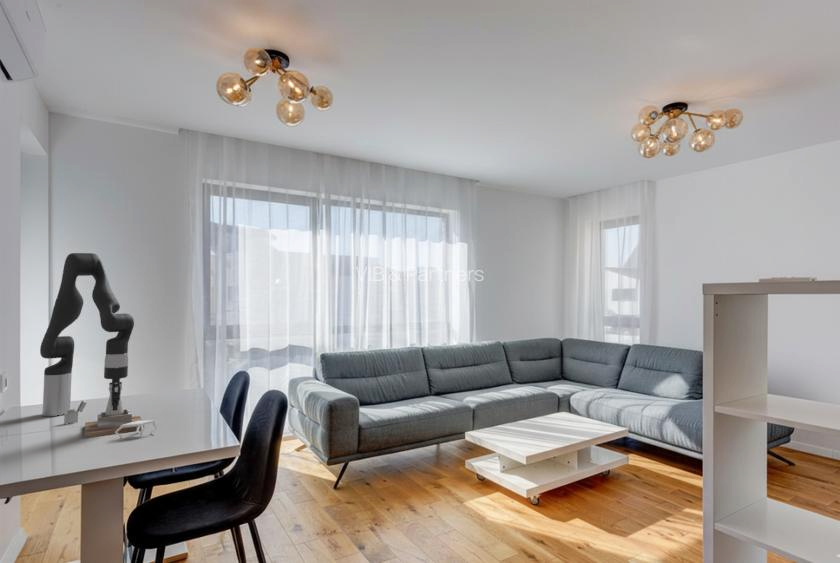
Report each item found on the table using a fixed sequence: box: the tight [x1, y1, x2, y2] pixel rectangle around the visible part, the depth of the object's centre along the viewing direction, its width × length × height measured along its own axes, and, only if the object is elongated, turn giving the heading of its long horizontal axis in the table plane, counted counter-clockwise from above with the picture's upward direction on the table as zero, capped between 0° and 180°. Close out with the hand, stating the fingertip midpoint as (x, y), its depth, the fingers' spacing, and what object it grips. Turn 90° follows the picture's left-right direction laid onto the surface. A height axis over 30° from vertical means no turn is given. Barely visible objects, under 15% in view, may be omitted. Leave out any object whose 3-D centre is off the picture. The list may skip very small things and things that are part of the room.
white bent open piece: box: [114, 419, 158, 439], centre depth 160 cm, size 12×8×5 cm
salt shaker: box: [104, 386, 124, 417], centre depth 170 cm, size 6×6×13 cm
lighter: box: [63, 400, 88, 425], centre depth 178 cm, size 7×2×8 cm, turn 149°
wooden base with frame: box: [84, 408, 145, 439], centre depth 170 cm, size 18×18×6 cm
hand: (114, 410), depth 170 cm, fingers closed on salt shaker, 3 cm apart
